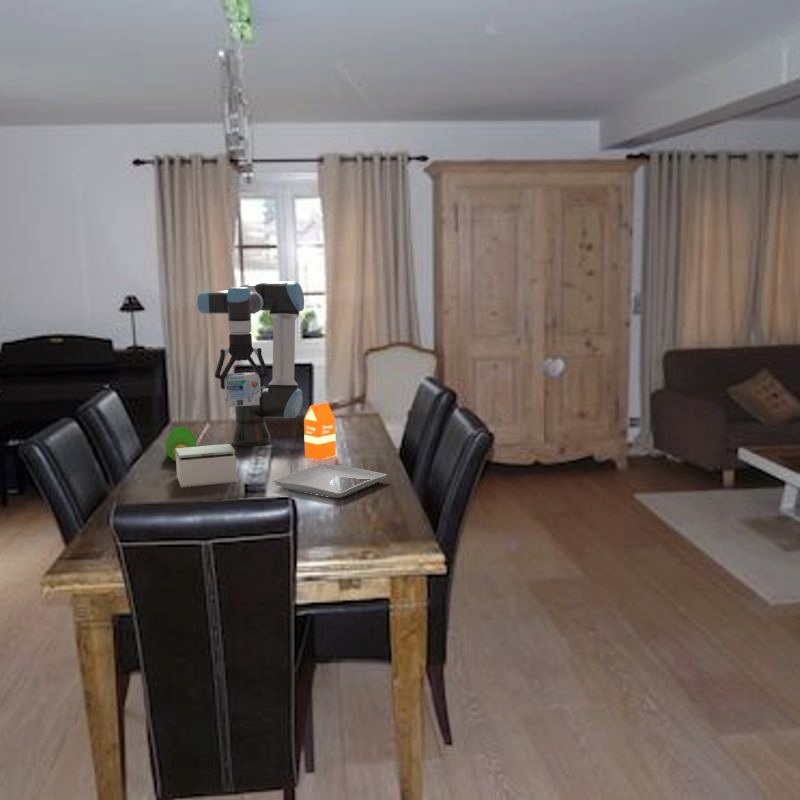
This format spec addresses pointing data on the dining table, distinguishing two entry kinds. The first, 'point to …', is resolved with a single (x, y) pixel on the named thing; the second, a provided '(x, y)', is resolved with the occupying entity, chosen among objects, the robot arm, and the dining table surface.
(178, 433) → the decorative tree
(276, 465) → the dining table surface
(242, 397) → the light bulb box
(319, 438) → the orange juice
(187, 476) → the beige box
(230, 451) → the box lid
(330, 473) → the square plate
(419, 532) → the dining table surface
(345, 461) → the dining table surface
